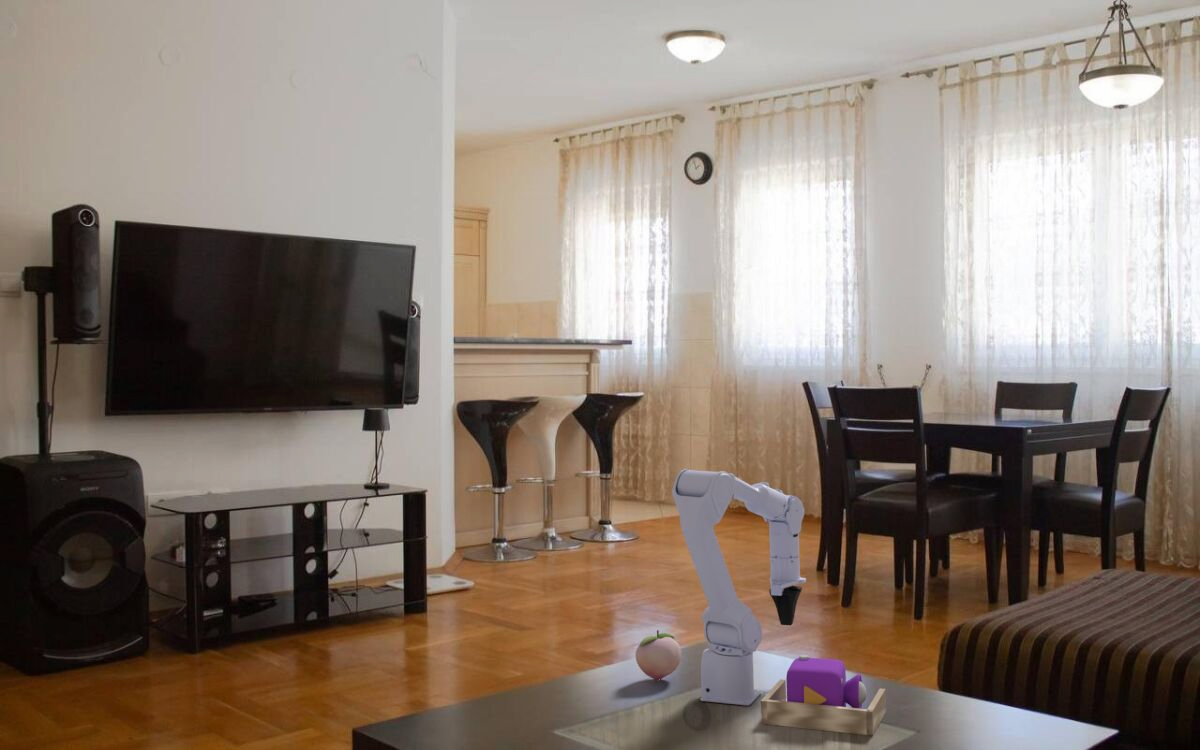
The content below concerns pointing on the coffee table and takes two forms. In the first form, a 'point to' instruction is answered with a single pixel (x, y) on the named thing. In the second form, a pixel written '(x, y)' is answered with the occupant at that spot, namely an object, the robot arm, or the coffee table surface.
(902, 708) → the coffee table surface
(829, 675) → the toy camera
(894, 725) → the coffee table surface
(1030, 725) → the coffee table surface
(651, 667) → the decorative fruit
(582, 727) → the coffee table surface
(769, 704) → the wooden tray
